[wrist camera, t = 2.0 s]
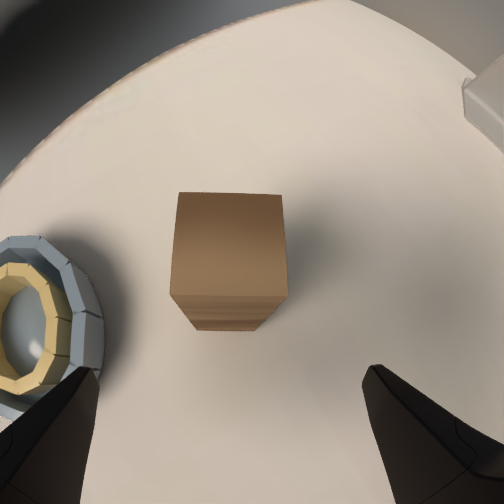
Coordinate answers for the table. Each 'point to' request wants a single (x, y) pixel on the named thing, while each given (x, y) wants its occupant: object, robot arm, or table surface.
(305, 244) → the table surface
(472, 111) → the tablet stand
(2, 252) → the grey round dish
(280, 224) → the brown wooden block
